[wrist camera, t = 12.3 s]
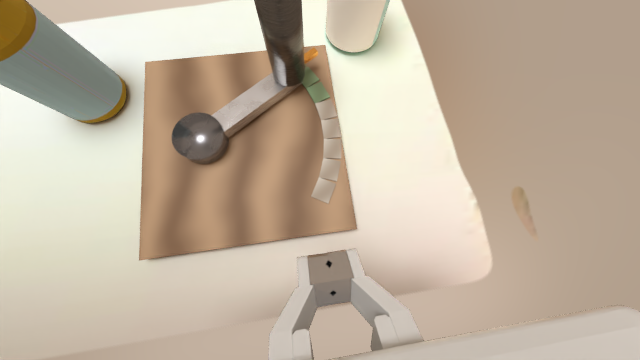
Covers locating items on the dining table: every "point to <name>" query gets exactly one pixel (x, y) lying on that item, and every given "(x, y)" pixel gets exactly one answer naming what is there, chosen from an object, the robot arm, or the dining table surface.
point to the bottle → (54, 66)
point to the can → (354, 23)
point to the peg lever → (287, 74)
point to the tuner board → (241, 159)
